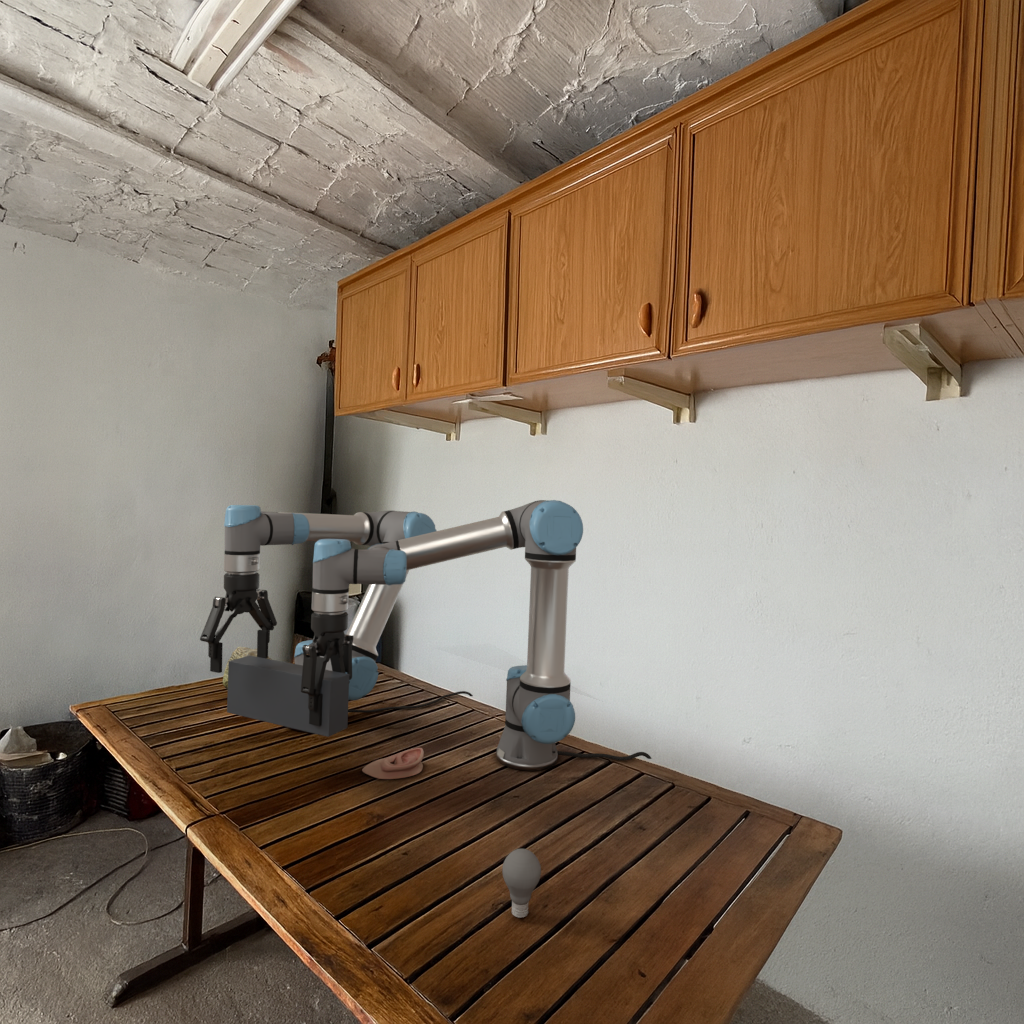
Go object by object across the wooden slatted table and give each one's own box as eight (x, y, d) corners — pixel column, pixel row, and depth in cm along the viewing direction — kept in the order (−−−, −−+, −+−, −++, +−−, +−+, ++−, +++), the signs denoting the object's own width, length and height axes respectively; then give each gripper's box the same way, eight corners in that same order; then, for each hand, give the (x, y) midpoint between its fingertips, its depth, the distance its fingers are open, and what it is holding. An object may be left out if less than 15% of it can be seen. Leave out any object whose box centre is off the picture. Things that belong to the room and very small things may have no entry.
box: (226, 712, 143) (228, 661, 143) (248, 704, 148) (249, 655, 148) (328, 737, 131) (330, 680, 131) (347, 727, 136) (349, 674, 136)
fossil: (218, 695, 195) (220, 647, 195) (278, 685, 208) (279, 640, 207) (228, 703, 189) (230, 653, 188) (289, 692, 201) (290, 645, 201)
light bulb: (499, 902, 101) (501, 840, 101) (536, 902, 101) (539, 840, 101) (501, 928, 95) (504, 862, 95) (541, 927, 95) (544, 862, 95)
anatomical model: (356, 758, 144) (377, 740, 155) (356, 775, 144) (376, 756, 155) (412, 766, 141) (429, 746, 152) (411, 783, 141) (428, 763, 153)
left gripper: (208, 580, 132) (207, 681, 133) (293, 568, 155) (291, 654, 156) (182, 577, 135) (181, 675, 135) (269, 565, 158) (267, 650, 158)
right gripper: (312, 620, 124) (308, 737, 125) (371, 607, 142) (368, 709, 142) (283, 616, 127) (279, 730, 128) (345, 603, 145) (341, 704, 145)
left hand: (240, 664), depth 146 cm, fingers open, 13 cm apart
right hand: (326, 719), depth 135 cm, fingers closed on box, 6 cm apart
